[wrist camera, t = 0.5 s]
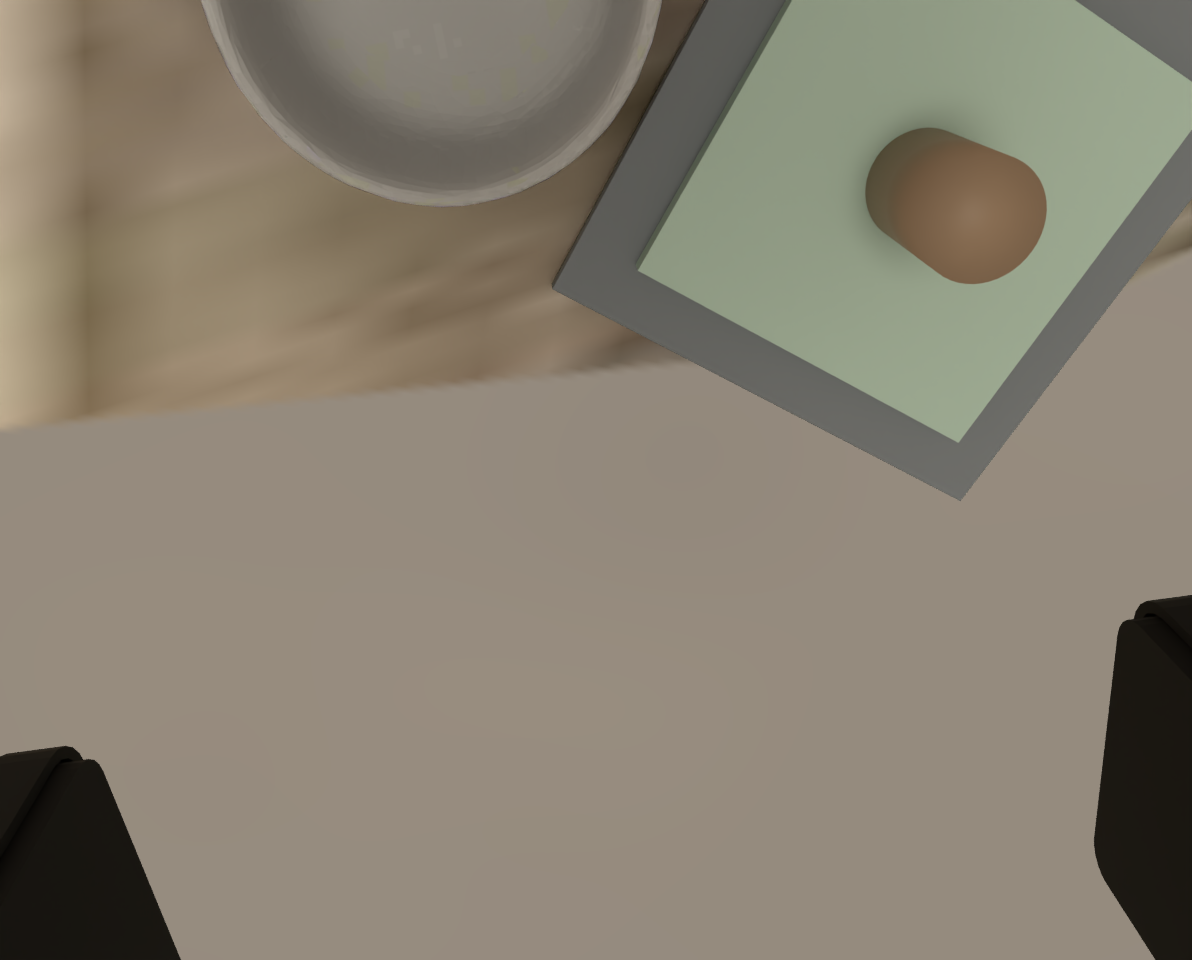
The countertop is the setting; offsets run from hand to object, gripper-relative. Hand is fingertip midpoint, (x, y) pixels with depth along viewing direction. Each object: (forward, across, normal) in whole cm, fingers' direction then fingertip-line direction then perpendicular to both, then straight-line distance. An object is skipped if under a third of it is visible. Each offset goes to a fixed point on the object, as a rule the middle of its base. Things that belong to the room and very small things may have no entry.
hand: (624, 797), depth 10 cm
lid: (+26, -12, 0) cm, 29 cm away
